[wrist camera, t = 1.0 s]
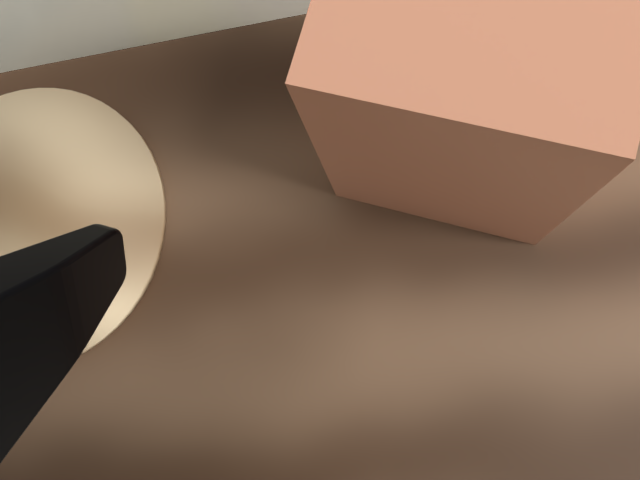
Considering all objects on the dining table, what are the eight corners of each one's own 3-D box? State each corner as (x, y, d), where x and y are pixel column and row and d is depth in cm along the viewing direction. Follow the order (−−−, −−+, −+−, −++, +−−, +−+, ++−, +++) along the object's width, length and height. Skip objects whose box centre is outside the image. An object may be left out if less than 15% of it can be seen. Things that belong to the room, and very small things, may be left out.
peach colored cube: (535, 245, 19) (635, 159, 10) (336, 195, 20) (284, 83, 12) (580, 56, 20) (706, -162, 11) (387, 19, 21) (373, -202, 12)
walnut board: (707, 509, 19) (813, 565, 14) (-87, 581, 23) (-230, 647, 18) (589, 4, 23) (640, -94, 18) (-83, 129, 26) (-200, 75, 21)
